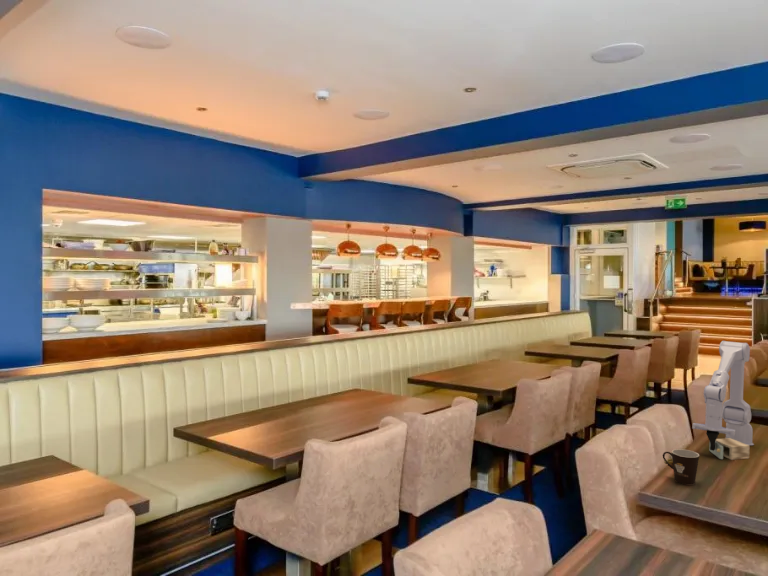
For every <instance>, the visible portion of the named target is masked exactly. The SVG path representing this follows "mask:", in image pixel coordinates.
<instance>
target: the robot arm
mask: <svg viewBox="0 0 768 576" xmlns="http://www.w3.org/2000/svg"><path fill="white" fill-rule="evenodd" d="M718 347H719V348H718V352H719V356H720V358H721V359H720V361H719V366H718V369H717V370H714V371H713V374H712V376H711V378H710V380H709V384H708V385H705V387H704V389H703V398H704V404H705V420H704V421H705V422H704V423H695V422H693V423H692V427H691V429H693V430H696V429H697V430H701V431H706V432H705V434H706V436H707V438H708V440H709V445H710V450H713V451H714V450H715V441H716V439H718V437H719V436H720V434H723V435H725V438H731V439H734V440H736V441H739V442H741V443H744V444H746V445H749V446H754V445H755V444H754V442H753V435H754V434H753V431H754V430H753V427H752V425H751V424H750V422H751V420H752V412H751V405H750V404H749V403H747V402H746V401H745V400H744V386H745V385H744V384H745V383H744V382H745V380H744V379H745V365H746V363H747V362H749V361H750V356H751V355H750V354H751V351H750V350H751V347H750V344H748V342H738V341H737V342H736V341H726V340H722V341H721V342H720V343H719V346H718ZM729 372H730V375H729ZM729 381H730V385H729V387H730V388H729V399H727V400H725V399H726V394H727V386H728V382H729ZM723 420H724V422H725V427H724V426H723Z"/></svg>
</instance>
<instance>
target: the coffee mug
mask: <svg viewBox="0 0 768 576" xmlns="http://www.w3.org/2000/svg"><path fill="white" fill-rule="evenodd" d="M666 454H668V455H671V456H672V460H673V464H672V465H671V464H669V463H668V462H667V461H666V460H667V459H666V458H665V456H666ZM662 459H663V462H664V461H665V462H666V463H667V464H666V465H668V466H669V468H671V469H672V470H673V478H674V481H675V480H676V481H677V482H676V481H675V482H676V483H678V482H680V483H679V484H681V483H683V484H682V485H686V484H692V485H695V484H696V478H697V473H698V465H699V460H700V453H698V452H696V451H693V450H689V449H685V450H684V448H683V449H682V448H679V449H677V448H676V449H673V450H671V452H670V451H664V452H663V453H662ZM694 483H695V484H694Z"/></svg>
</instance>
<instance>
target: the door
mask: <svg viewBox="0 0 768 576" xmlns="http://www.w3.org/2000/svg"><path fill="white" fill-rule="evenodd" d="M708 445H709V448H708V449H709V450H708V451H709V452H710V453H711V454H713V455H714V456H716V457H717V458H718V459H719V460H723V459H724V456H723V446H722V445H720V444H719V443H718V442H716V441H715V450H714V451H713V450H710V444H708Z"/></svg>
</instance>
